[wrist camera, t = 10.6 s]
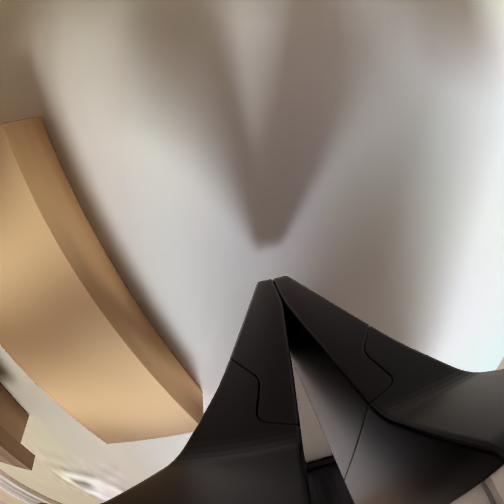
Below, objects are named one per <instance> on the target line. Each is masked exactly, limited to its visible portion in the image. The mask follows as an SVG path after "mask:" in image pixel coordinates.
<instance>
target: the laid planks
mask: <svg viewBox="0 0 504 504" xmlns="http://www.w3.org/2000/svg"><path fill="white" fill-rule="evenodd" d="M28 417H29V415H28V414H27V412H26V411H25V410H24V409H23V408H22V407H21V406H20V405H19V404H18V403H17V402H16V401H15V400H14V399H13V397H12V396H11V395H10V394H9V393H8V392H7V391H6V390H5V388H4V387H3V386H2V385H1V384H0V462H3V463H6V464H9V465H13V466H16V467H20V468H24V469H28V470H32V467H33V463H34V458H35V455H34V454H32V453H31V452H30V451H29V450H28V449H26V448H25V447H24V446H23V445H22V444H20V443H21V440H22V436H23V433H24V430H25V427H26V424H27V420H28Z"/></svg>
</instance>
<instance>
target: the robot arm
mask: <svg viewBox="0 0 504 504" xmlns="http://www.w3.org/2000/svg"><path fill="white" fill-rule="evenodd" d="M291 358H292V361H293V363H294V365H295V368H296V370H297V372H298V375H299V377H300V379H301V382H302V384H303V386H304V389H305V391H306V393H307V396H308V398H309V400H310V403H311V405H312V407H313V410H314V412H315V414H316V416H317V419H318V421H319V423H320V426H321V428H322V430H323V433H324V435H325V437H326V439H327V442H328V444H329V446H330V449H331V451H332V453H333V456H334V457H332V458H328V459H325V460H321V461H318V462H314V463H310V464H305V458H304V451H303V444H302V437H301V429H300V421H299V413H298V406H297V398H296V390H295V383H294V376H293V368H292V361H291ZM38 504H48V503H38ZM101 504H504V369H502V370H495V371H488V372H468V371H464V370H460V369H457V368H455V367H452V366H450V365H448V364H445V363H443V362H441V361H439V360H436V359H434V358H432V357H430V356H428V355H425V354H423V353H421V352H419V351H417V350H414V349H412V348H410V347H408V346H406V345H404V344H402V343H400V342H398V341H396V340H394V339H392V338H391V337H389V336H387V335H385V334H383V333H382V332H380V331H378V330H377V329H375V328H373V327H372V326H370V327H369V325H368V324H366V323H365V322H363V321H361V320H360V319H358V318H356V317H355V316H353V315H351V314H350V313H348V312H346V311H345V310H343V309H341V308H340V307H338V306H336V305H335V304H333V303H331V302H330V301H328V300H326V299H325V298H323V297H321V296H320V295H318V294H316V293H315V292H313V291H311V290H310V289H308V288H306V287H305V286H303V285H301V284H300V283H298V282H296V281H295V280H293V279H291V278H290V277H288V276H283V277H279V278H275V279H273V280H271V279H269V280H265V281H260V282H258V283H257V286H256V289H255V292H254V294H253V297H252V300H251V303H250V305H249V308H248V311H247V314H246V316H245V319H244V322H243V325H242V327H241V330H240V333H239V336H238V338H237V341H236V344H235V346H234V349H233V352H232V355H231V357H230V361H229V362H228V365H227V368H226V370H225V373H224V375H223V378H222V380H221V382H220V385H219V387H218V389H217V391H216V393H215V395H214V397H213V399H212V401H211V403H210V404H209V406H208V408H207V410H206V411H205V413H204V415H203V417H202V418H201V420H200V422H199V423H198V425H197V427H196V429H195V430H194V432H193V434H192V435H191V437H190V439H189V441H188V442H187V444H186V445H185V447H184V449H183V450H182V451H181V453H180V454H179V455H178V456H177V458H176V459H175V460H174V461H173V462H172V463H170V464H169V465H168V466H167V467H165V468H164V469H162V470H161V471H159V472H157V473H156V474H154V475H152V476H151V477H149V478H147V479H146V480H144V481H142V482H141V483H139V484H137V485H135V486H134V487H132V488H130V489H128V490H127V491H125V492H123V493H121V494H119V495H117V496H116V497H114V498H112V499H110V500H108V501H106V502H104V503H101Z"/></svg>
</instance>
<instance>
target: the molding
mask: <svg viewBox="0 0 504 504" xmlns="http://www.w3.org/2000/svg"><path fill="white" fill-rule="evenodd" d="M0 488H1V489H2V490H4V491H5V492H7V493H9V494H10V495H12V496H14V497H16V498H18V499H19V500H21V501H23V502H25V503H27V504H38V503H48V504H60V503H58V502H56V501H53V500H51V499H49V498H47V497H45V496H43V495H41V494H39V493H37V492H35V491H33V490H31V489H30V488H28V487H26V486H24V485H23V484H21V483H19V482H18V481H16V480H15V479H13V478H12V477H10V476H9V475H7V474H6V473H4V472H3V471H2V470H0Z"/></svg>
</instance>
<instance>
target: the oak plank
mask: <svg viewBox="0 0 504 504" xmlns="http://www.w3.org/2000/svg"><path fill="white" fill-rule="evenodd" d="M0 345H1V346H2V347H3V348H4V349H5V351H6V352H7V353H8V354H9V355H10V356H11V357H12V359H13V360H14V361H15V362H16V363H17V364H18V365H19V366H20V367H21V369H22V370H23V371H24V372H25V373H26V374H27V375H28V376H29V377H30V378H31V379H32V380H33V381H34V382H35V383H36V384H37V385H38V386H39V387H40V388H41V389H42V390H43V391H44V392H45V393H46V394H47V395H48V396H49V397H50V398H52V399H53V400H54V401H55V402H56V403H57V404H58V405H59V406H60V407H62V408H63V409H64V410H65V411H66V412H67V413H68V414H70V415H71V416H72V417H73V418H74V419H76V420H77V421H78V422H79V423H80V424H82V425H83V426H84V427H85V428H87V429H88V430H89V431H91V432H92V433H93V434H94V435H96V436H97V437H98V438H100V439H101V440H103V441H104V442H105V443H107V444H109V443H121V442H130V441H139V440H147V439H154V438H161V437H167V436H173V435H179V434H184V433H190V432H194V430H195V429H196V427H197V425H198V423H199V422H200V420H201V418H202V417H203V395H202V391H201V389H200V388H199V387H198V386H197V385H196V383H195V382H194V381H193V380H192V378H191V377H190V376H189V375H188V373H187V372H186V371H185V369H184V368H183V367H182V366H181V364H180V363H179V362H178V360H177V359H176V358H175V356H174V355H173V354H172V352H171V351H170V350H169V348H168V347H167V346H166V344H165V343H164V341H163V340H162V339H161V337H160V336H159V335H158V333H157V332H156V330H155V329H154V327H153V326H152V325H151V323H150V322H149V320H148V319H147V317H146V316H145V314H144V313H143V311H142V310H141V308H140V307H139V305H138V304H137V302H136V301H135V299H134V298H133V296H132V295H131V293H130V292H129V290H128V289H127V287H126V285H125V284H124V282H123V281H122V279H121V277H120V276H119V274H118V272H117V271H116V269H115V268H114V266H113V264H112V263H111V261H110V259H109V257H108V256H107V254H106V252H105V251H104V249H103V247H102V245H101V244H100V242H99V240H98V238H97V236H96V235H95V233H94V231H93V229H92V227H91V225H90V224H89V222H88V220H87V218H86V216H85V214H84V212H83V210H82V208H81V206H80V204H79V202H78V200H77V198H76V196H75V194H74V192H73V190H72V188H71V186H70V184H69V182H68V180H67V178H66V175H65V173H64V171H63V169H62V167H61V164H60V162H59V160H58V158H57V155H56V153H55V151H54V148H53V146H52V144H51V141H50V139H49V136H48V134H47V131H46V129H45V126H44V123H43V121H42V118H41V117H35V118H29V119H24V120H18V121H13V122H8V123H4V124H2V125H0Z"/></svg>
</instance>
